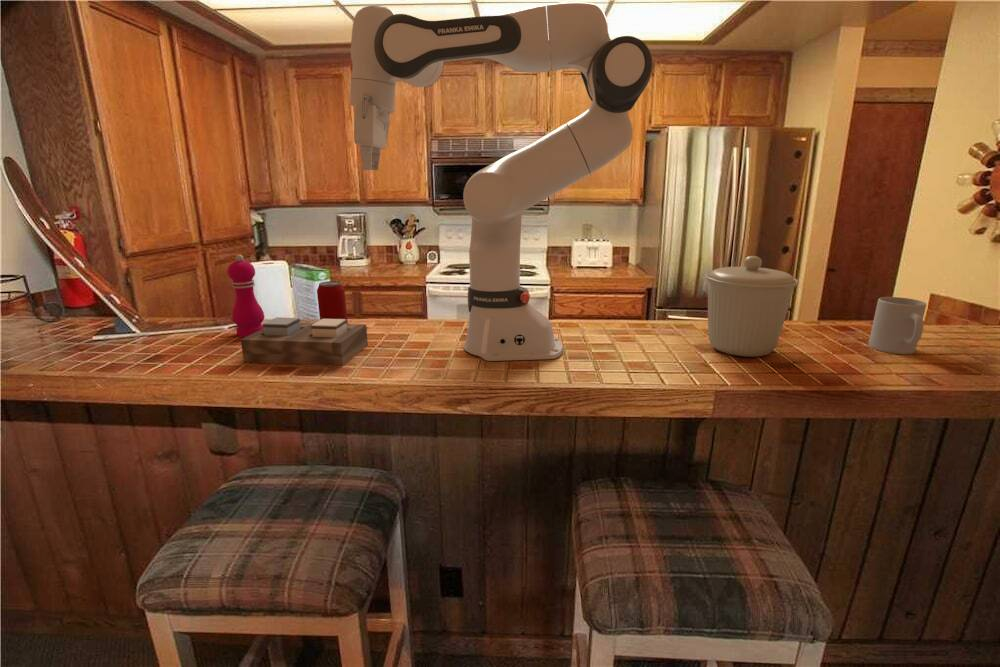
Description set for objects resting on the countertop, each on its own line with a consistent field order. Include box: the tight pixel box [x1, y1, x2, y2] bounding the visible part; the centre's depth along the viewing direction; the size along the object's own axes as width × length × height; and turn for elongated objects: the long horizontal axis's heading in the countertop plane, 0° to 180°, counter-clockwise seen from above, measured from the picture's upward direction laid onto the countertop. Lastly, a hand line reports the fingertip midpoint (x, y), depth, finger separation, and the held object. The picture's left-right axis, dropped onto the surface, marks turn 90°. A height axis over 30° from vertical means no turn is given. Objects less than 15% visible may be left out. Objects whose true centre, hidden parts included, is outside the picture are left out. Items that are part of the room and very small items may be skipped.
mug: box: [868, 296, 927, 355], centre depth 110 cm, size 12×8×11 cm
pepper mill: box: [227, 254, 265, 338], centre depth 124 cm, size 7×7×20 cm
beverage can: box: [316, 280, 349, 324], centre depth 130 cm, size 7×7×12 cm
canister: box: [704, 255, 800, 358], centre depth 109 cm, size 18×18×21 cm
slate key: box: [262, 316, 301, 336], centre depth 111 cm, size 6×6×5 cm
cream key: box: [311, 319, 348, 338], centre depth 110 cm, size 6×6×5 cm
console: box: [240, 322, 369, 367], centre depth 111 cm, size 22×14×5 cm, turn 83°
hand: (370, 170), depth 106 cm, fingers open, 8 cm apart
